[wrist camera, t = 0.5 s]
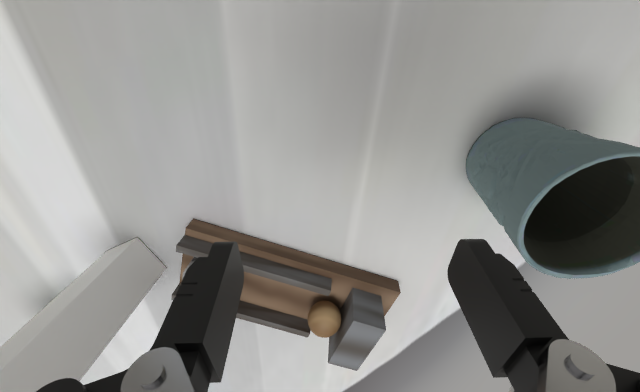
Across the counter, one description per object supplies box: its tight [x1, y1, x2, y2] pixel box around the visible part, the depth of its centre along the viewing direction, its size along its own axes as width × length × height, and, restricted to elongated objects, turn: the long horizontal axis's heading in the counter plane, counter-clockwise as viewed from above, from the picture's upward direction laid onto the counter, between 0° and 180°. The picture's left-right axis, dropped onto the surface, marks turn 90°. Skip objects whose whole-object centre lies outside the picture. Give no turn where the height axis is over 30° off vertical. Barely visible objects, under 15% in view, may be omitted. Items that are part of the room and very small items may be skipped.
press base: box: [171, 219, 400, 371], centre depth 37 cm, size 12×28×7 cm, turn 72°
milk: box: [0, 238, 166, 392], centre depth 31 cm, size 6×6×22 cm
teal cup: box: [466, 118, 640, 279], centre depth 24 cm, size 10×10×12 cm
